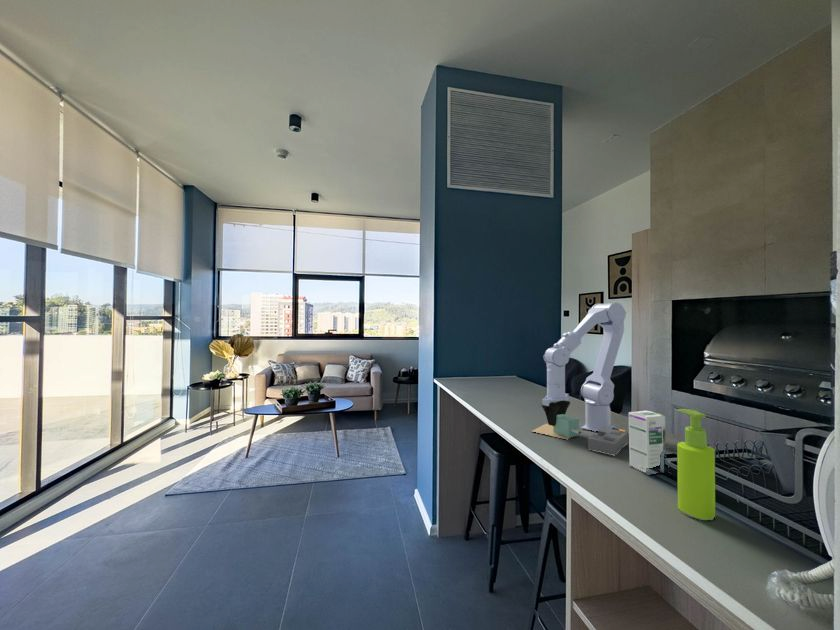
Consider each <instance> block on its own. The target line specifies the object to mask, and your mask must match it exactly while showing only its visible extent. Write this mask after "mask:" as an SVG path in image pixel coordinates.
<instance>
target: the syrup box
mask: <svg viewBox="0 0 840 630" xmlns="http://www.w3.org/2000/svg"><path fill="white" fill-rule="evenodd" d="M666 439H667V438H666V416H665V415H664V414H662V413H658V412H655V411H652V410H651V411H650V410H641V411H639V410H638V411H629V412H628V447H629V448H628V449H629V452H628V454H629V455H628V456H629V466H630V465H631V466H633V467H635V468H637V469H639V470H641V471H643V472H646V468H653V467H656V466H659V465H660V454H661V452H662V451H663V450H666V451H667V449H666V447H667V446H666V445H667V442H666V441H667V440H666ZM665 457H666V458H667V454H666V455H665Z"/></svg>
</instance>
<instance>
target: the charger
mask: <svg viewBox="0 0 840 630" xmlns="http://www.w3.org/2000/svg"><path fill="white" fill-rule="evenodd" d="M583 431H584V429H582V428H581V429H580V418H578V417H575V416H572V415H568V414H561V415H557V418H556V425H555V426H553V432H554V433H557V434H559V435H562V436H565V437H568V438H569V437H572V438H573V437H579V435H580V433H581V434H582V433H583ZM579 432H580V433H579Z"/></svg>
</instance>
